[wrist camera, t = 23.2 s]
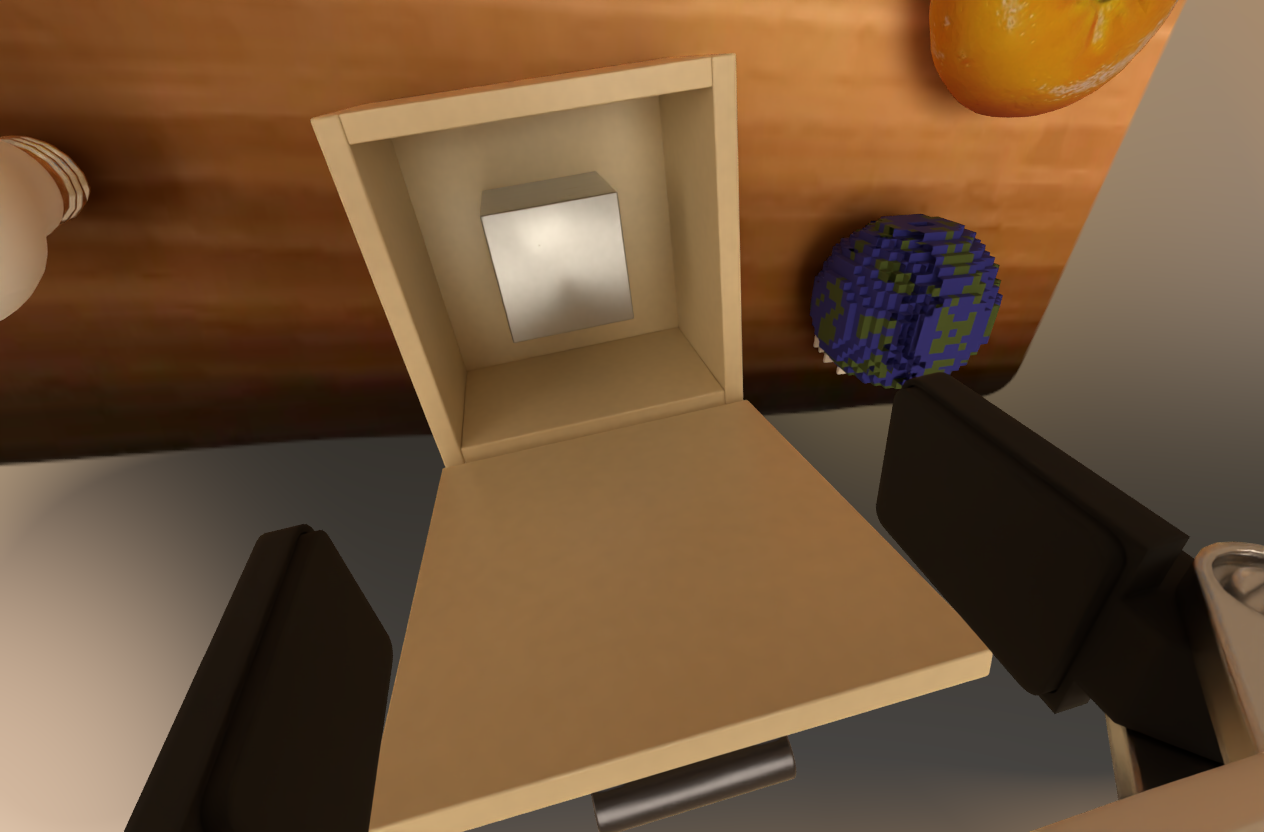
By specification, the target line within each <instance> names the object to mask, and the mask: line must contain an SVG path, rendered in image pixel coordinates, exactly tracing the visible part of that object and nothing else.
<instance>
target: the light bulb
mask: <svg viewBox="0 0 1264 832" xmlns="http://www.w3.org/2000/svg"><path fill="white" fill-rule="evenodd" d="M90 191H91V188H90V185H89V183H88V181H87V178H86V176H85V174H84V172H83V171H82V170H81V169H80V168H79V166H78V165H77V164H76V163H75V162H74V161H73V160H72V159H71V157H70V156H68V155H67V154H65V153H64V152H62V151H61V150H59V149H58V148H56V147H55V146H53V145H52V144H50V143H47V142H44V141H41V140H38V139H35V138H33V137H30V136H13V135H7V136H5V137H0V321H1V320H3V319H5V318H6V317H8V316H9V315H11V314H12V313H13V312H15V311H16V310H17V309H19V308H20V307H21V306H22V305H23V304H24V303H25V302H26V301H27V300H28V298H29V297H30V296H31V295H32V293H33V292H34V290H35V288H36V287H37V285H38V283H39V281H40V279H41V277H42V275H43V273H44V271H45V266H46V260H47V254H48V252H47V239H46V236H48V235H49V234H51V233H52V232H53V231H54V229H55V228H56V227H57V226H58V225H59V224H62V223H65V222H67V221H69V220H72V219H74V218H76V217H77V216H78V214H79V213H80V211H81V210H82V208H83V207H84V206H85V204H86V203H87V201H88V198H89V195H90Z"/></svg>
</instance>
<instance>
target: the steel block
mask: <svg viewBox="0 0 1264 832" xmlns="http://www.w3.org/2000/svg"><path fill="white" fill-rule="evenodd" d="M480 219H481V223H482V227H483V230H484V234H485V238H486V242H487V245H488V249H489V253H490V257H491V261H492V264H493V268H494V272H495V276H496V279H497V283H498V287H499V291H500V294H501V298H502V302H503V306H504V310H505V313H506V317H507V321H508V325H509V328H510V332H511V336H512V340H513V342H514V343H517V342H522V341H527V340H532V339H537V338H542V337H547V336H552V335H556V334H561V333H566V332H571V331H576V330H581V329H586V328H591V327H596V326H600V325H605V324H610V323H615V322H620V321H625V320H630V319H634V313H633V306H632V298H631V291H630V283H629V276H628V268H627V260H626V253H625V245H624V238H623V230H622V223H621V215H620V208H619V200H618V193H617V191H616V190H614V189H613V188H612V187H611V186H610V185H609V184H608V183H607V182H606V181H605V180H604V179H603V178H602V177H601V176H600V175H599V174H598V173H597V172H596V171H594V172H588V173H582V174H576V175H571V176H565V177H559V178H553V179H548V180H542V181H536V182H530V183H525V184H519V185H513V186H507V187H501V188H496V189H490V190H484V191H482V199H481V212H480Z"/></svg>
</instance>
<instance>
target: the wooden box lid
mask: <svg viewBox="0 0 1264 832" xmlns="http://www.w3.org/2000/svg"><path fill="white" fill-rule="evenodd" d="M992 654H993V653H992V652H991V651H990V650H989V649H988V648H987V646H986V645H985V644H984V643H983V642H982V641H981V639H980V638H979V637H978V636H977V635H976V634H975V632H974V631H973V630H972V629H971V628H970V627H969V626H968V624H967V623H966V622H965V621H964V620H963V619H962V617H961V616H960V615H959V614H958V613H957V612H956V611H955V610H954V609H953V608H952V607H951V606H950V605H949V604H948V603H947V602H946V601H945V600H944V599H943V598H942V597H941V596H940V595H939V594H938V593H937V592H936V591H935V590H934V589H933V588H932V587H931V586H930V585H929V584H928V583H927V582H926V581H925V580H924V579H923V578H922V577H921V576H920V575H919V574H918V573H917V572H916V571H915V570H914V569H913V567H912V566H910V564H909V563H907V561H906V560H905V559H904V558H903V557H902V556H901V555H900V554H899V553H898V552H897V551H896V550H895V549H894V548H893V547H892V546H891V545H890V544H889V543H888V542H887V541H886V540H885V539H884V538H883V537H882V536H881V535H880V534H879V533H878V532H877V531H876V530H875V529H874V528H873V527H872V526H871V525H870V524H869V523H868V522H867V521H866V520H865V519H864V518H863V517H862V516H861V515H860V514H859V513H858V512H857V511H856V510H855V509H854V508H853V507H852V506H851V505H850V504H849V503H848V502H847V501H846V500H845V499H844V498H843V497H842V496H841V495H840V494H839V493H838V491H836V489H834V487H832V485H831V484H830V483H829V482H827V481H826V479H825V478H824V477H823V476H821V474H820V473H819V472H818V471H817V470H816V469H815V468H814V467H813V466H812V465H811V464H810V463H809V462H808V461H807V460H806V459H805V458H804V457H803V456H802V455H801V454H800V453H799V452H798V451H797V450H796V449H795V448H794V447H793V446H792V445H791V444H790V443H789V442H788V441H787V440H786V439H785V438H784V437H783V436H782V435H781V434H780V433H779V432H778V431H777V430H776V429H775V428H774V427H773V426H772V425H771V424H770V423H769V422H768V421H767V420H766V419H765V418H764V417H763V416H762V414H761V413H760V412H759V411H758V410H757V409H756V408H755V407H754V406H753V405H752V404H751V403H750V402H749V401H748V400H744V401H739V402H735V403H730V404H726V405H722V406H717V407H713V408H708V409H704V410H699V411H695V412H691V413H686V414H682V415H677V416H673V417H668V418H664V419H660V420H655V421H651V422H646V423H642V424H637V425H633V426H629V427H624V428H620V429H615V430H611V431H607V432H602V433H598V434H593V435H589V436H584V437H580V438H576V439H571V440H567V441H562V442H558V443H553V444H549V445H545V446H540V447H536V448H531V449H527V450H522V451H518V452H514V453H509V454H505V455H500V456H496V457H491V458H487V459H483V460H478V461H474V462H469V463H465V464H460V465H456V466H452V467H447V468H443V470H442V474H441V478H440V483H439V487H438V492H437V496H436V501H435V505H434V510H433V514H432V518H431V523H430V528H429V532H428V537H427V541H426V545H425V550H424V554H423V559H422V563H421V568H420V573H419V576H418V581H417V586H416V590H415V594H414V599H413V603H412V608H411V612H410V617H409V621H408V625H407V630H406V635H405V639H404V643H403V648H402V652H401V657H400V661H399V665H398V670H397V674H396V679H395V684H394V688H393V692H392V697H391V701H390V706H389V710H388V715H387V719H386V724H385V728H384V732H383V737H382V741H381V747H380V754H379V761H378V768H377V775H376V782H375V789H374V796H373V804H372V811H371V818H370V825H369V832H463V831H466V830H470V829H473V828H476V827H480V826H483V825H487V824H490V823H493V822H497V821H500V820H503V819H507V818H510V817H513V816H517V815H520V814H523V813H527V812H530V811H534V810H537V809H540V808H544V807H547V806H550V805H554V804H557V803H560V802H564V801H567V800H571V799H574V798H577V797H581V796H584V795H587V794H591V796H592V802H593V807H594V812H595V817H596V821H597V825H598V829H599V832H621V831H624V830H627V829H630V828H633V827H637V826H640V825H643V824H647V823H650V822H653V821H657V820H659V819H663V818H666V817H670V816H673V815H676V814H679V813H683V812H686V811H689V810H692V809H696V808H699V807H702V806H706V805H709V804H712V803H715V802H719V801H722V800H725V799H728V798H732V797H735V796H738V795H741V794H745V793H748V792H751V791H754V790H758V789H761V788H764V787H768V786H771V785H774V784H777V783H780V782H784V781H787V780H790V779H793V778H795V776H796V766H795V760H794V756H793V752H792V749H791V746H790V742H789V740H788V737H787V735H789V734H792V733H796V732H799V731H803V730H806V729H809V728H812V727H816V726H820V725H823V724H826V723H830V722H833V721H836V720H840V719H843V718H846V717H850V716H853V715H856V714H860V713H863V712H867V711H870V710H873V709H877V708H880V707H883V706H886V705H890V704H894V703H897V702H900V701H903V700H907V699H910V698H914V697H917V696H920V695H924V694H927V693H931V692H934V691H937V690H941V689H944V688H947V687H951V686H954V685H957V684H961V683H964V682H968V681H971V680H974V679H977V678H981V677H984V676H987V675H988V674H989V671H990V665H991V660H992Z"/></svg>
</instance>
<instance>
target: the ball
mask: <svg viewBox="0 0 1264 832" xmlns="http://www.w3.org/2000/svg"><path fill="white" fill-rule="evenodd" d="M964 227H965V225H962V224H959V223H956V222H953V221H950V220H947V219H944V218H940V217H929V216H926V215H923V214H913V215H898V216H884V217H881V219H878V221H871V222H870V223H868V225H866V226H865V228H863V229H858V230H856V232H853V234H850V237H849V238H841V242H840V243H838V244H836V246H833V250H832V255H831V256H829V258H828V259H827V261H824V264H823V270H821V271H820V272H819V273H818V276H815V279H814V286H813V292H812V298H811V304H810V310H811V311H810V316H811V317H812V319H813V322H812V325H813V326H814V328H815V333H814V334H815V339H814V345H813V346H814V347H819V349H818V352H824V353H825V354H824V359H823V362H824V363H826V362H834V363H835V364H836V365H837V366H838V367H837V372H836V373H837V374H845V373H846V374H848V375H855V376H856V377H857V378H858V379H859V380H861V381H862V382H863V383H872V384H873V385H874V386H878V385H882V386H883V387H884V388H893V387H894V388H895V389H900V388H902V385H903V384H904V382H905V381H906V380H909V379H911V378H915V377H920V376H924V375H928V374H932V373H936V372H944V373H946V374H949V375H950V373H951V371H955V370H958V369H959V367H960V366H963V365H966V364H967V362H968V359H969V356H970V355H976V354H977V352H978V349H979V347H980V344H987V342H988V339H989V336H990V333H991V331H992V328H993V325H994V322H995V319H996V316H997V313H998V310H999V307H1000V304H1001V300H1002V296H1003V295H1001V294H999V293H998V290H999V286H1000V283H1001V280H999V279H996V275H997V272H998V269H999V265H998V264H995V263H994V260H995V257H992V256H989V254H990V252H987V251H985V245H984V244H982V243H980V242H981V240H979V239H976V238H975V236H976V232H973V231H970V230H967V229H964Z"/></svg>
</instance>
